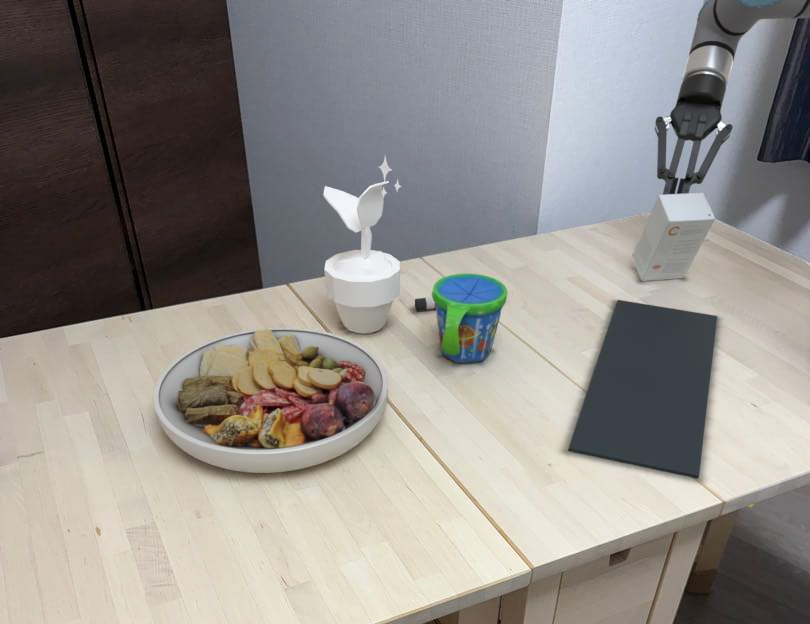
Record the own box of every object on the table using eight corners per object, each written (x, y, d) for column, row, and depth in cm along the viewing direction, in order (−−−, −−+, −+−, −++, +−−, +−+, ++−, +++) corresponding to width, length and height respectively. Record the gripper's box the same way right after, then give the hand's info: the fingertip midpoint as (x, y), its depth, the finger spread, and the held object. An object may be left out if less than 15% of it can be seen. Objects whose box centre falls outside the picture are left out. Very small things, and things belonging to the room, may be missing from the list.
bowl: (113, 452, 93) (95, 398, 88) (237, 342, 114) (229, 293, 108) (328, 512, 86) (324, 457, 80) (420, 382, 106) (422, 332, 100)
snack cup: (456, 322, 119) (460, 260, 112) (517, 338, 115) (525, 275, 108) (410, 367, 109) (411, 301, 102) (475, 386, 105) (481, 319, 98)
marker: (417, 313, 121) (417, 301, 120) (414, 307, 122) (414, 296, 121) (506, 303, 124) (507, 292, 122) (502, 298, 125) (503, 287, 124)
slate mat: (716, 318, 121) (717, 315, 120) (698, 478, 91) (699, 475, 90) (617, 302, 125) (617, 299, 124) (568, 451, 95) (568, 447, 94)
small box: (672, 252, 134) (704, 191, 122) (683, 279, 131) (717, 218, 120) (630, 255, 133) (658, 193, 121) (640, 282, 130) (669, 221, 119)
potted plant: (416, 325, 118) (419, 155, 101) (362, 351, 112) (356, 175, 95) (362, 299, 124) (356, 135, 107) (308, 322, 118) (293, 152, 101)
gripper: (740, 102, 130) (705, 234, 130) (661, 94, 133) (628, 223, 133) (749, 74, 123) (712, 214, 123) (666, 67, 126) (631, 203, 126)
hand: (669, 218), depth 128 cm, fingers closed
